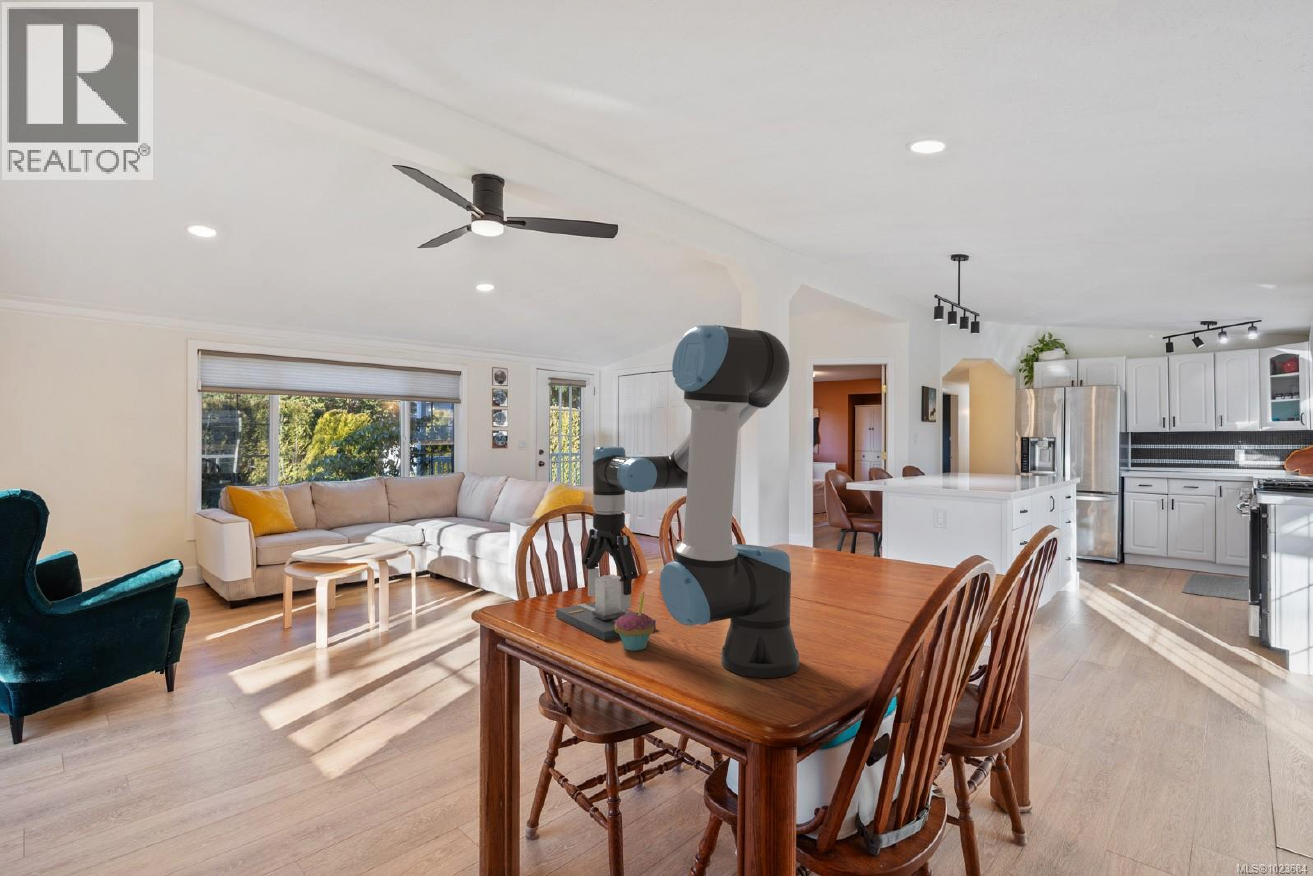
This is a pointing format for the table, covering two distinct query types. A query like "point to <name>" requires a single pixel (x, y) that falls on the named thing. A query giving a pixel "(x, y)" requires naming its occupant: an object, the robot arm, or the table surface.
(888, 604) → the table surface
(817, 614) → the table surface
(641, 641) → the cupcake
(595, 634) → the board
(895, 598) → the table surface
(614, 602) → the block
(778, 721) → the table surface
